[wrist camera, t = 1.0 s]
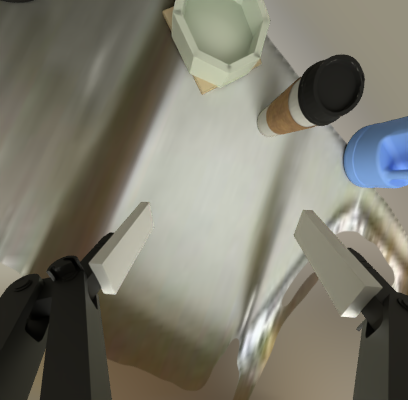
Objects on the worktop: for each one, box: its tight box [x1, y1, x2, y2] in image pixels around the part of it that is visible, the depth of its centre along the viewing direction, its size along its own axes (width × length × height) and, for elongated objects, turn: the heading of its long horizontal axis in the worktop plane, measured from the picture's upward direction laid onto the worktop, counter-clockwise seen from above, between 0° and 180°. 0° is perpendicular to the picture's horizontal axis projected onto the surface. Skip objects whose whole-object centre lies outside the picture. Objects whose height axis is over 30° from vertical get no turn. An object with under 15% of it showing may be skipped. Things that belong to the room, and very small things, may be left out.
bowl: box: [163, 0, 270, 95], centre depth 28 cm, size 15×15×5 cm
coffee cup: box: [257, 55, 365, 137], centre depth 28 cm, size 8×8×15 cm
